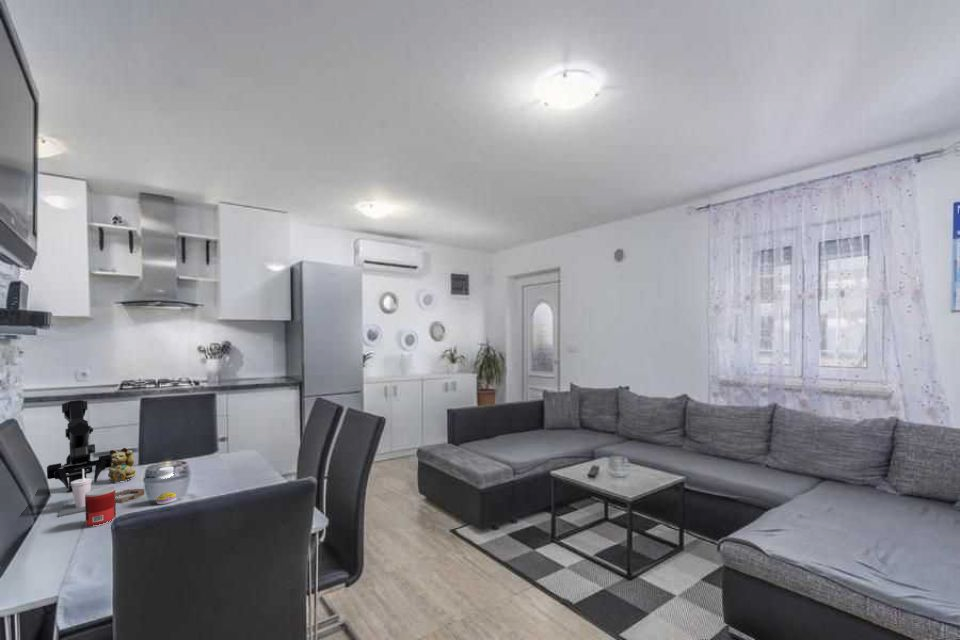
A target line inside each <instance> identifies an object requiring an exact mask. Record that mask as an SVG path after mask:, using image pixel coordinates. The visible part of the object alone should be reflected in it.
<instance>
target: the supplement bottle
mask: <svg viewBox="0 0 960 640" xmlns="http://www.w3.org/2000/svg"><path fill="white" fill-rule="evenodd" d="M174 470H175V469H174V466H165V467H161V468H159V469H158V474H159V475H158V476H159V478H161V479H165V478H166V479H167V478H170V477H171V476H173V475H174V474H173V473H174ZM177 499H178V497H177V498H176V494H174V493H165V494H164V493H163V494H161V495H160V496H159V497H158V498H157V500H156V499H155V500H156V502H157V503H156V502H155V503H156V504H157V505H166V504H171V503H173V502H175V501H176V500H177Z"/></svg>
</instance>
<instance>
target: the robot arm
mask: <svg viewBox="0 0 960 640" xmlns="http://www.w3.org/2000/svg"><path fill="white" fill-rule="evenodd" d="M86 411H88V401H87V400H82V399H75V400H69V401H67V402H65V403H62V404H61V414H63V418H64V419H65V420H66V421H67V422H68V423H67V428H66V429H65V431H64V432H65V435H64V436H65V438H66V439H67V440H68V441H69V445H68V446H69V454H68V456H67V457H66V459H65V462H66V463H63V464H62V462H59V463H58V462H57V463H54V464H53V463H52V464H49V465H47V466H46V479H47V480H51V479H54V480H59V481H60V482H61V483H62V484H63V485H64V486H65V488H66V489H67V490H66V493H71V492H72V493H73V490H72V486H70V485H71V484H70V483H71V482H72V481H75V480H79V479H82V469H84V478H87V474H91V473H93V467H95V468H94V475H93V476H94V477H93V482H94V483H97V480H98V479H99V478H98V477H99V476H100V474H101V472H102V471H104V470H106V469H109V468H110V467H111V466H112V464H113V463H112V455H110V453H108V454H103V455H98V459H97V460H95V459H94V460H91V454H95V453H96V445H95V443H93V444H92V443H91V444H89V443H90V442H89V440H90V435H92V433H93V432H94V428H93V427H91V425H89V422H88V420H86V419H85V418H84V417H85V415H86ZM94 483H93V484H94Z"/></svg>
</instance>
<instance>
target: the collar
mask: <svg viewBox="0 0 960 640" xmlns="http://www.w3.org/2000/svg"><path fill="white" fill-rule="evenodd" d="M128 493H130V494H132V495H129V494H128ZM122 494H125V495H129V496H125V497H120V496H119V495H121V496H123V495H122ZM144 495H145V489H144V488H133V489H130V488H128V489H123V490H122V491H117V492H115V497H116V496H118V497H116V498H115V501H116V502H117V503H118V502H119V503H121V504H123V503H128V502H129V501H132V500H136V499H137V498H140V497H142V496H144ZM119 497H120V498H119Z"/></svg>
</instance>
